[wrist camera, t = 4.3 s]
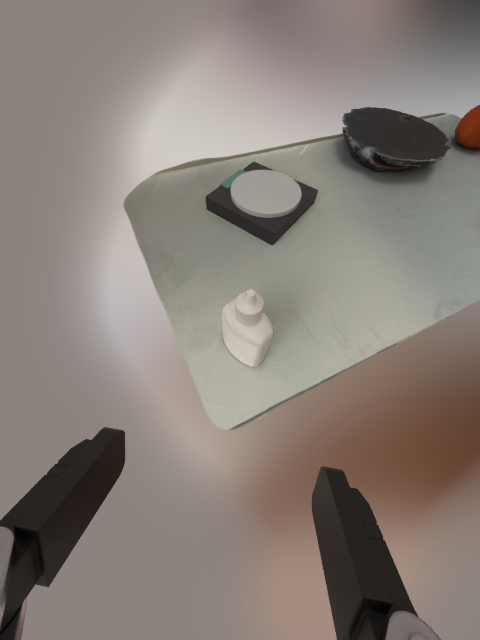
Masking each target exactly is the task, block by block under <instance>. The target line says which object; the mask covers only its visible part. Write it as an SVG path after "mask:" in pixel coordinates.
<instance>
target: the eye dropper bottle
mask: <svg viewBox="0 0 480 640" xmlns="http://www.w3.org/2000/svg"><path fill="white" fill-rule="evenodd" d="M263 307H264V301H263V299H262V297H261V296H260V295H259V294H258V293H256V292H255V291H254V290H252V289H250V290H248V291H246V292H243V293H241V294H240V295H239V296H238V297H237V299H234V300H232V301H230V302H229V303H228V304H227V305H226V306H225V307H224V308H223V309H222V327H223V340H224V343H225V345H226V347H227V348H228V350H229V351H230V353H231V354H232V355H233V356H234V357H235V358H236V359H237V360H239V361H240V362H242V363H243V364H245V365H248V366H250V367H257V366H258V365H259V364H260V363H261V362H262V361H263V360H264V359H265V357H266V354H267V352H268V349H269V347H270V344H271V341H272V338H273V335H274V330H273V327H272V325H271V323H270V321H269V319H268V318H267V317H266V315H265V314H264V313H263V312H262V311H263Z"/></svg>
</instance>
